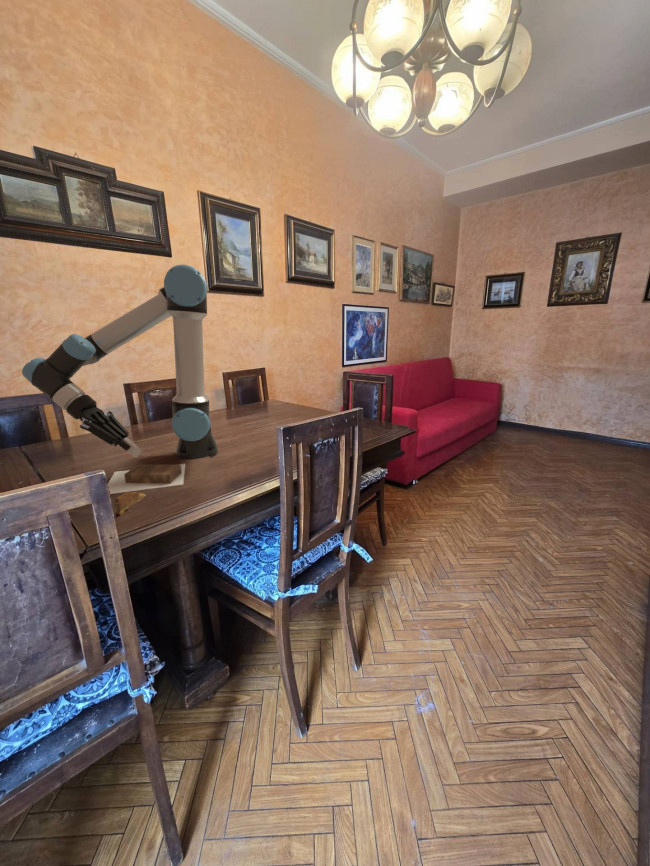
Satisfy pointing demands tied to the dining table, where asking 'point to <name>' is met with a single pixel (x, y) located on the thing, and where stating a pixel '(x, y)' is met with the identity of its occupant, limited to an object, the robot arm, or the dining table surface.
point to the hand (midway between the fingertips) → (139, 454)
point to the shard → (127, 501)
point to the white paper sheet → (120, 485)
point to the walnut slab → (153, 474)
